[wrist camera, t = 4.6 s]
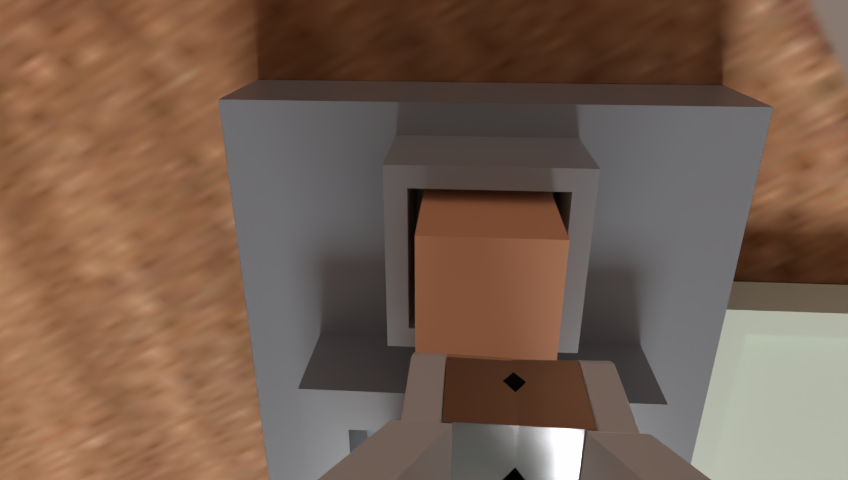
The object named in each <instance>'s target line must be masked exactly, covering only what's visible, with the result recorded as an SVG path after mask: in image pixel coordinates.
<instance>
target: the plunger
mask: <svg viewBox="0 0 848 480" xmlns="http://www.w3.org/2000/svg"><path fill="white" fill-rule="evenodd" d="M569 241H570V240H569V237H568V235H567V232H566V229H565V227H564V224H563V221H562V219H561V216H560V213H559V211H558V208H557V206H556V203H555V200H554V198H553V195H552V192H547V191H503V190H459V189H424V192H423V197H422V202H421V207H420V212H419V217H418V222H417V227H416V231H415V352H422V353H445V355H446V359H447V354H458V355H473V356H488V357H503V358H512V359H529V360H557V354H558V345H559V335H560V326H561V316H562V307H563V298H564V288H565V279H566V269H567V260H568V250H569Z"/></svg>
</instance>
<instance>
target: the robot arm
mask: <svg viewBox="0 0 848 480" xmlns="http://www.w3.org/2000/svg"><path fill="white" fill-rule="evenodd" d="M318 480H711V479H709V478H708V477H707V476H706V475H704V474H703V473H702V472H700V471H699V470H698V469H696V468H695V467H694V466H692V465H691V464H690V463H688V462H687V461H686V460H684V459H683V458H682V457H680V456H679V455H678V454H676V453H675V452H674V451H672V450H671V449H670V448H668V447H667V446H666V445H664V444H663V443H662V442H660V441H659V440H658V439H656V438H655V437H654V436H652V435H651V434H640V432H639V429H638V426H637V424H636V421H635V418H634V415H633V413H632V410H631V407H630V405H629V402H628V399H627V397H626V394H625V391H624V388H623V386H622V383H621V380H620V378H619V375H618V372H617V370H616V367H615V364H614V363H612V362H611V361H589V360H577V361H563V360H529V359H512V358H503V357H488V356H473V355H458V354H447V359H446V355H445V353H422V352H414V353H413V355H412V356H411V362H410V368H409V374H408V380H407V386H406V392H405V398H404V404H403V410H402V416H401V420H390V421H389V422H388V423H387V424H386V425H384V426H383V427H382V428H381V429H379V430H378V431H377V432H376V433H374V434H373V435H372V436H371V437H370V438H368V439H367V440H366V441H365V442H363V443H362V444H361V445H360V446H358V447H357V448H356V449H355V450H353V451H352V452H351V453H350V454H349V455H347V456H346V457H345V458H344V459H342V460H341V461H340V462H339V463H337V464H336V465H335V466H334V467H333V468H331V469H330V470H329V471H328V472H326V473H325V474H324V475H323V476H321V477H320V478H319V479H318Z"/></svg>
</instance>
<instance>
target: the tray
mask: <svg viewBox="0 0 848 480" xmlns="http://www.w3.org/2000/svg"><path fill="white" fill-rule="evenodd" d="M691 465H692V466H694V467H695V468H696V469H698V470H699V471H700V472H702V473H703V474H704V475H706V476H707V477H708V478H709V479H711V480H848V285H832V284H800V283H768V282H735V281H733V283H732V288H731V292H730V296H729V301H728V305H727V309H726V314H725V318H724V322H723V327H722V331H721V335H720V340H719V344H718V348H717V353H716V357H715V361H714V366H713V370H712V374H711V379H710V383H709V387H708V392H707V396H706V400H705V405H704V409H703V413H702V418H701V422H700V426H699V431H698V435H697V439H696V444H695V448H694V452H693V457H692V461H691Z"/></svg>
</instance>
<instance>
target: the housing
mask: <svg viewBox="0 0 848 480" xmlns="http://www.w3.org/2000/svg"><path fill="white" fill-rule="evenodd" d="M219 106H220V114H221V121H222V129H223V136H224V144H225V151H226V159H227V166H228V174H229V181H230V189H231V196H232V204H233V211H234V219H235V226H236V234H237V241H238V249H239V256H240V264H241V271H242V279H243V286H244V294H245V301H246V309H247V316H248V323H249V331H250V338H251V346H252V353H253V361H254V368H255V376H256V383H257V391H258V398H259V406H260V413H261V421H262V428H263V436H264V443H265V451H266V458H267V466H268V473H269V480H318V479H319V478H320V477H321V476H323V475H324V474H325V473H326V472H328V471H329V470H330V469H331V468H333V467H334V466H335V465H336V464H337V463H339V462H340V461H341V460H342V459H344V458H345V457H346V456H347V455H349V454H350V453H351V452H352V451H353V450H355V449H356V448H357V447H358V446H360V445H361V444H362V443H363V442H365V441H366V440H367V439H368V438H370V437H371V436H372V435H373V434H374V433H376V432H377V431H378V430H379V429H381V428H382V427H383V426H384V425H386V424H387V423H388V422H389V421H390V420H401V416H402V410H403V404H404V398H405V392H406V386H407V380H408V374H409V368H410V362H411V356H412V355H413V353H414V352H415V231H416V227H417V222H418V217H419V212H420V207H421V202H422V197H423V192H424V189H459V190H503V191H547V192H552V195H553V198H554V200H555V203H556V206H557V208H558V211H559V213H560V216H561V219H562V221H563V224H564V227H565V229H566V232H567V235H568V237H569V240H570V241H569V250H568V260H567V269H566V279H565V288H564V298H563V307H562V316H561V326H560V335H559V345H558V354H557V360H563V361H577V360H589V361H611V362H612V363H614V364H615V367H616V370H617V372H618V375H619V378H620V380H621V383H622V386H623V388H624V391H625V394H626V397H627V399H628V402H629V405H630V407H631V410H632V413H633V415H634V418H635V421H636V424H637V426H638V429H639V432H640V434H651V435H652V436H654V437H655V438H656V439H658V440H659V441H660V442H662V443H663V444H664V445H666V446H667V447H668V448H670V449H671V450H672V451H674V452H675V453H676V454H678V455H679V456H680V457H682V458H683V459H684V460H686V461H687V462H688V463H690V464H691V461H692V457H693V452H694V448H695V444H696V439H697V435H698V431H699V426H700V422H701V418H702V413H703V409H704V405H705V400H706V396H707V392H708V387H709V383H710V379H711V374H712V370H713V366H714V361H715V357H716V353H717V348H718V344H719V340H720V335H721V331H722V327H723V322H724V318H725V314H726V309H727V305H728V301H729V296H730V292H731V288H732V283H733V279H734V275H735V270H736V266H737V262H738V257H739V253H740V249H741V244H742V240H743V236H744V231H745V227H746V223H747V218H748V214H749V210H750V205H751V201H752V197H753V192H754V188H755V184H756V179H757V175H758V171H759V166H760V162H761V158H762V153H763V149H764V145H765V140H766V136H767V132H768V127H769V123H770V119H771V114H772V110H773V107H771V106H769V105H767V104H765V103H762V102H760V101H758V100H756V99H753V98H751V97H749V96H746V95H744V94H742V93H740V92H737V91H735V90H733V89H730V88H728V87H726V86H724V85H661V84H577V83H493V82H409V81H325V80H256V81H254V82H252V83H250V84H248V85H246V86H244V87H242V88H240V89H238V90H236V91H234V92H232V93H230V94H228V95H226V96H224V97H223V98H221V99H219Z"/></svg>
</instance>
